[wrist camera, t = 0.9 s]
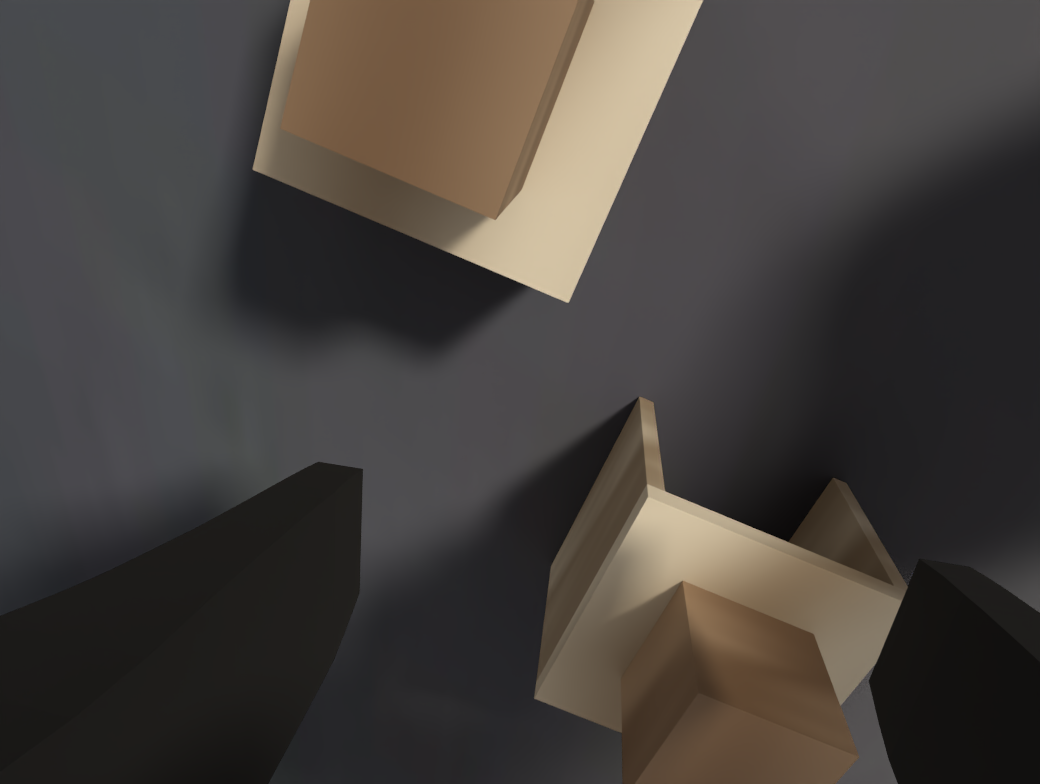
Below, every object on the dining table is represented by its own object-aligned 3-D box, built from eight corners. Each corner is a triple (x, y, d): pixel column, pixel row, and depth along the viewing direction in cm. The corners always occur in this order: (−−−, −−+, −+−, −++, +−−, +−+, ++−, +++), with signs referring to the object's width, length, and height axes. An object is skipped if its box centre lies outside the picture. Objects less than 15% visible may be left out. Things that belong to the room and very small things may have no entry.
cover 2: (846, 483, 19) (993, 732, 12) (735, 640, 21) (799, 928, 14) (639, 396, 19) (656, 595, 11) (550, 566, 21) (518, 819, 14)
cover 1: (695, -19, 15) (775, -121, 8) (580, 245, 17) (556, 362, 10) (428, -140, 15) (243, -363, 7) (349, 147, 17) (151, 193, 10)
